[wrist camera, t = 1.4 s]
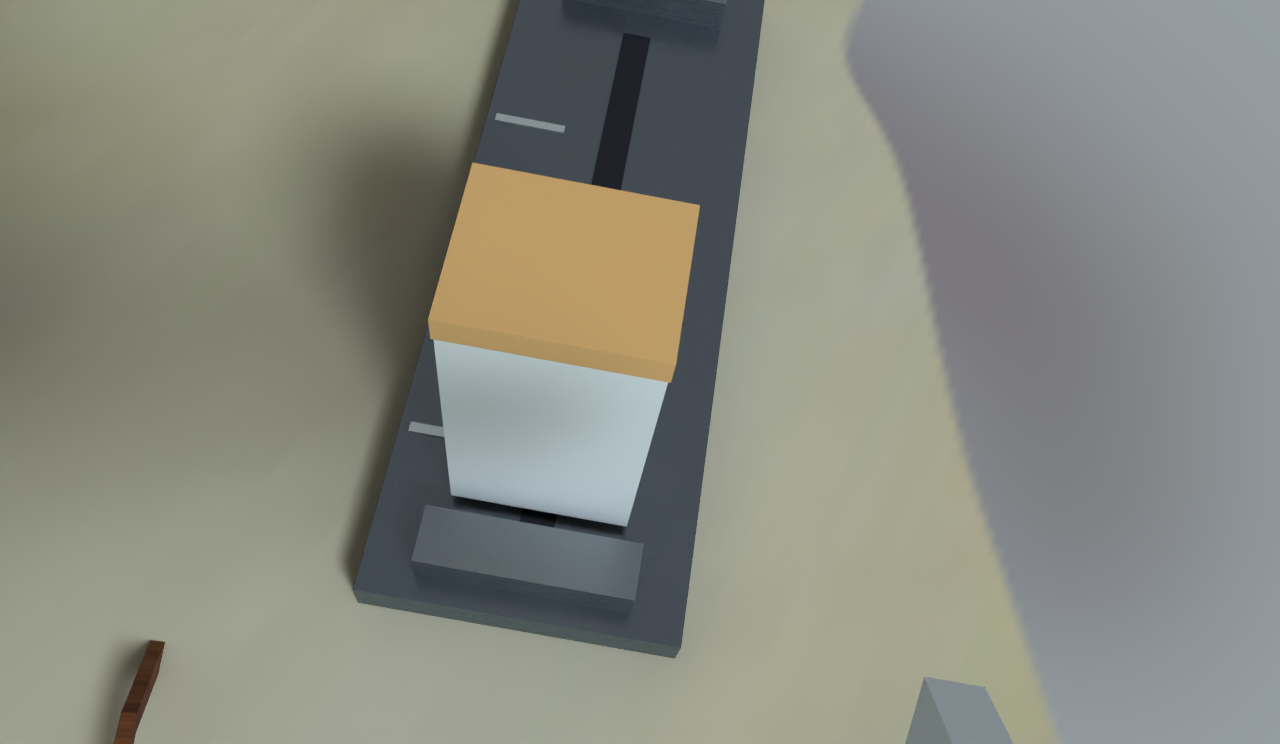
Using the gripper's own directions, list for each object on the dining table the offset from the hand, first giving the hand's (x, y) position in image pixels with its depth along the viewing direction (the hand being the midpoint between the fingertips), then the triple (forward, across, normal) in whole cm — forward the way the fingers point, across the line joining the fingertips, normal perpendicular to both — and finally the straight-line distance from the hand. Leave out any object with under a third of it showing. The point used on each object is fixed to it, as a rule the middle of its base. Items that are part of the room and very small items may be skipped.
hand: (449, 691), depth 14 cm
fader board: (+25, 0, +1) cm, 25 cm away
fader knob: (+18, 0, -3) cm, 18 cm away
